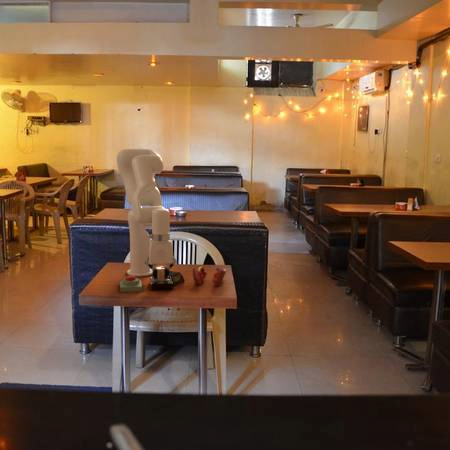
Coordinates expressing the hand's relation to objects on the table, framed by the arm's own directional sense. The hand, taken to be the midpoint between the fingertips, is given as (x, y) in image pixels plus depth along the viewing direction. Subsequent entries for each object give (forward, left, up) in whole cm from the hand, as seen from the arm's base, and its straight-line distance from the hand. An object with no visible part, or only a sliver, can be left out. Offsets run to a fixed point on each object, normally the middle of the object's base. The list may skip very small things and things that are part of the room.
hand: (160, 278), depth 224 cm
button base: (+1, -13, -4) cm, 14 cm away
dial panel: (0, 0, -4) cm, 4 cm away
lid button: (+1, -13, 0) cm, 13 cm away
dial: (0, 0, -1) cm, 1 cm away
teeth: (-3, +22, -4) cm, 23 cm away
